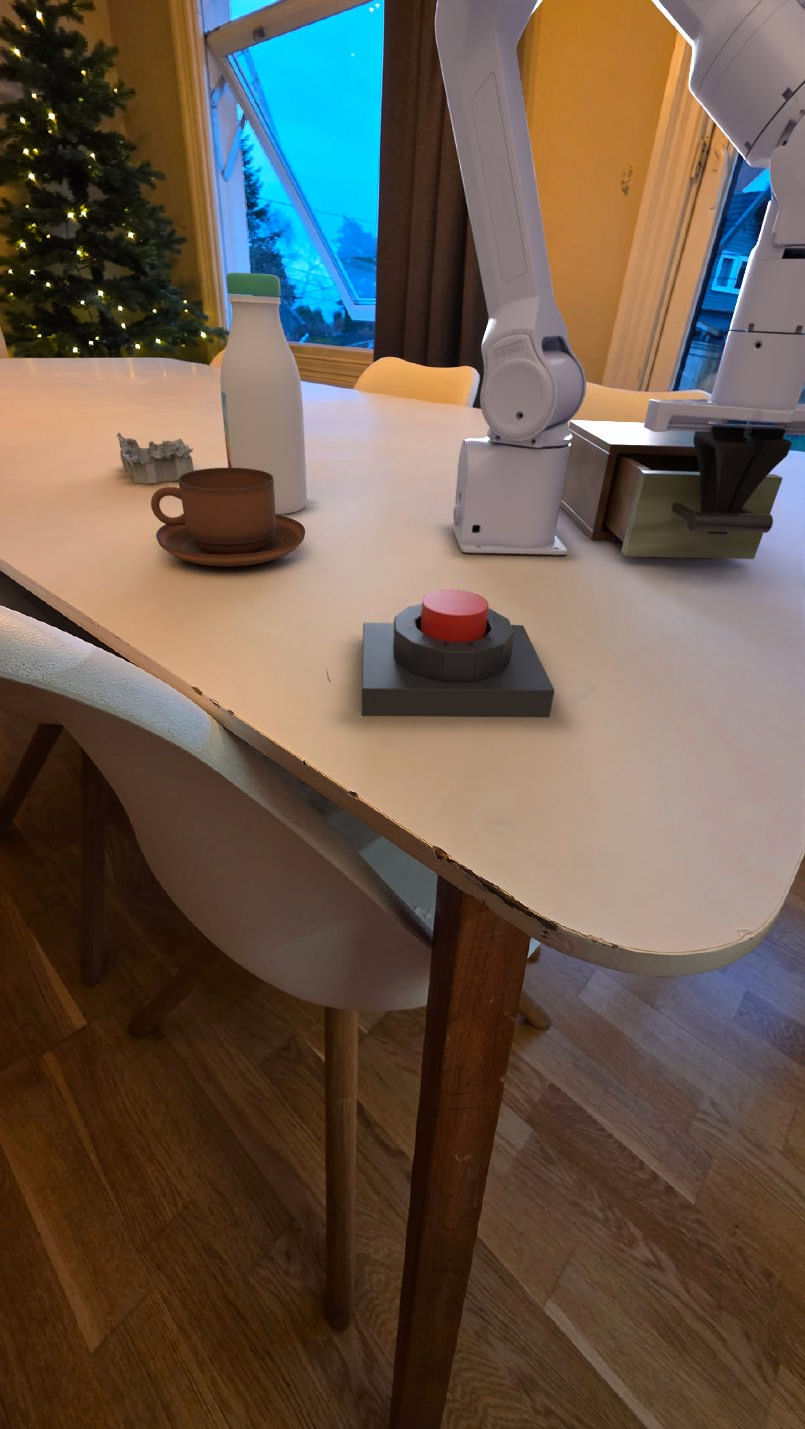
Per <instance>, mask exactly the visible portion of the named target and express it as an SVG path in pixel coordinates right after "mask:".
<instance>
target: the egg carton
mask: <svg viewBox="0 0 805 1429" xmlns="http://www.w3.org/2000/svg"><path fill="white" fill-rule="evenodd" d="M116 437H117V438H118V443H119V448H120V450H119V454H120V460H121V463H122V467H123V468H124V469H123V470H124V471H125V472H127V474H128V476H130V477H131V478H133V480H134V483H135V484H144V485H150V484H156V485H158V484H159V483H163V482H168V481H169V482H170V481H171V482H173V481H177V482H178V478H179V477H180V476H181V475H183V474H185V473H188V472H191V471H195V468H194V462H193V457H192V456H191V455H190V454H191V453H193V450H194V448H191V447H189V445H188V444H185V442H184V441H183V439H181V438H178V439H175V440H162V442H161V443H155V442H154V441H153V440H150V441H149V442H148V447H145V448H144V447H143V448H142V447H140V445H139V444H138V442H137V440H136V439H135V438H132V437H131V438H130V437H129V438H125V437H124V436H122V434H121V432H118V433H116Z"/></svg>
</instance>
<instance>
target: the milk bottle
mask: <svg viewBox="0 0 805 1429" xmlns="http://www.w3.org/2000/svg"><path fill="white" fill-rule="evenodd" d="M226 289H227V294H228V302H229V303H230V305H231V325H230V330H229V335H228V338H227V342H226V346H225V348H224V352H223V355H222V360H221V364H220V365H221V366H220V377H219V378H220V381H219V383H220V399H221V400H220V401H221V411H222V420H223V430H224V431H223V432H224V441H225V449H226V460H227V468H247V469H255V470H260V471H264V472H267V473H269V474H271V475H272V476H273V479H274V496H275V513H276V514H277V515H283V514H285V515H286V514H291V513H295V512H298V511H301V510H302V509H304V508H305V507H306V505H307V502H308V489H307V485H308V484H307V464H306V461H307V460H306V442H305V441H306V440H305V424H304V423H305V422H304V406H303V405H304V404H303V403H304V402H303V392H302V390H303V389H302V382H301V376H300V371H299V368H298V365H297V362H296V359H295V356H294V354H293V352H292V350H291V347H290V345H289V343H288V339H287V337H286V334H285V331H284V329H283V325H282V322H281V317H280V305H281V304H282V302H281V280H280V277H279V276H278V275H275V274H269V273H268V274H267V273H255V272H253V273H252V272H228V273H227V274H226Z"/></svg>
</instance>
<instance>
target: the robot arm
mask: <svg viewBox="0 0 805 1429" xmlns="http://www.w3.org/2000/svg"><path fill="white" fill-rule="evenodd" d="M651 1H652V2H653V3H654V5H655V6H656V7H657V8H658V9H659V10H660V12H662V14H663V15H664V17H666V18H667V19H668V20H669V22H670V23H671V24H672V25H673V27H675V29H676V30H677V31H678V32H679V33H680V34H681V35H682V37H683V38H684V39H685V41H687V43H689V45H690V46H691V47H692V54H691V62H690V70H689V71H690V72H689V78H688V89H689V92H690V93H691V94H692V95H693V97H694V98H695V99H696V101H697V102H698V103H699V104H700V105H701V107H702V108H703V109H704V110H705V112H706V113H707V114H708V116H709V117H710V118H711V119H712V120H713V121H714V123H715V124H716V125H717V126H718V128H719V129H720V130H721V131H722V133H723V134H724V136H725V137H726V138H727V139H728V140H729V142H730V143H731V144H732V145H733V147H734V148H735V149H736V150H737V152H738V153H739V154H740V155H741V156H742V157H743V159H744V160H745V161H746V163H747V164H748V165H749V166H750V167H751V168H763V169H767V170H769V178H770V179H769V182H770V192H771V198H772V199H771V200H769V201H768V204H767V208H766V211H765V215H764V217H763V218H764V219H763V222H762V226H761V230H760V233H759V236H758V239H757V240H758V241H757V242H756V245H755V246H754V248H752V250H751V252H750V255H749V258H748V261H747V265H746V269H745V273H744V275H743V280H742V283H741V287H740V291H739V294H738V297H737V302H736V305H735V309H734V313H733V316H732V319H731V322H730V327H729V330H728V333H727V336H726V340H725V345H724V348H723V351H722V354H721V359H720V363H719V367H718V370H717V373H716V376H715V380H714V384H713V388H712V392H711V395H710V398H681V399H679V398H676V399H675V398H674V399H673V398H672V399H670V398H669V399H667V398H666V399H665V398H662V399H661V398H660V399H659V398H650V399H649V402H648V405H647V409H646V414H645V419H644V422H643V423H644V428H647V429H649V430H651V431H654V432H666V431H667V430H672V431H695V434H694V440H693V442H694V446H695V450H696V454H697V459H698V463H699V470H700V478H701V512H717V513H739V512H740V511H741V509H742V507H743V506H744V504H745V503H746V502H747V500H748V499H749V497H750V496H751V494H752V493H753V492H754V490H755V489H756V488H757V487H758V485H759V484H760V483H761V482H762V481H763V479H764V478H765V477H766V476H767V475H768V474H771V472H772V471H773V470H774V469H775V468H776V467H777V466H778V465H779V464H780V463H781V462H782V461H784V459H785V458H786V457H788V454H789V452H790V450H791V447H792V444H793V442H792V441H791V440H789V439H786V438H784V436H785V435H792V436H797V435H798V436H805V403H799V399H800V398H801V394H802V392H803V389H804V386H805V0H651ZM542 2H543V0H436V8H435V9H436V10H435V17H434V18H435V19H434V27H435V28H434V31H435V42H436V47H437V52H438V56H439V62H440V69H441V74H442V79H443V84H444V89H445V95H446V100H447V106H448V110H449V116H450V121H451V125H452V132H453V136H454V143H455V146H456V152H457V157H458V162H459V168H460V173H461V178H462V184H463V189H464V195H465V199H466V200H465V201H466V205H467V210H468V215H469V220H470V225H471V232H472V235H473V242H474V246H475V253H476V257H477V262H478V268H479V273H480V278H481V284H482V289H483V295H484V300H485V305H486V310H487V315H488V323H487V326H486V330H485V332H484V336H483V338H482V342H481V348H480V350H481V351H480V352H481V356H482V362H483V378H482V384H481V388H480V397H479V400H480V408H481V409H480V410H481V414H482V416H483V418H484V421H485V422H486V423H485V424H487V426H488V427H487V430H486V436H485V437H481V438H465V439H463V440H462V442H461V445H460V449H459V451H460V452H459V456H458V464H457V465H458V466H457V477H456V489H455V500H454V508H453V517H452V518H453V519H452V521H453V522H452V526H451V527H452V529H453V532H454V535H455V538H456V541H457V543H458V546H459V548H460V551H461V552H463V553H468V554H469V553H471V554H473V553H475V554H511V555H512V554H514V555H515V554H517V555H556V556H557V555H558V556H559V555H562V556H565V555H567V554H568V548H567V546H566V545H565V544H564V543H563V541H561V539H560V538H559V537H558V536H557V534H556V532H557V528H558V521H559V516H560V515H559V514H560V511H561V510H560V509H561V507H560V504H561V498H562V493H563V487H564V481H565V475H566V469H567V464H568V458H569V452H570V446H571V441H572V435H571V433H570V431H569V423H568V422H570V421H571V420H572V419H574V418H573V417H574V416H575V415H576V414H577V413H578V412H579V410H580V409H581V407H582V405H583V402H584V400H585V397H586V394H587V377H586V376H587V375H586V372H585V368H584V367H583V365H582V362H581V361H580V360H579V358H578V357H577V356H576V354H575V353H574V351H573V349H572V346H571V344H570V340H569V334H568V328H567V325H566V322H565V321H564V318H563V315H562V313H561V311H560V309H559V307H558V305H557V302H556V300H555V295H554V286H553V282H552V276H551V275H552V274H551V269H550V261H549V256H548V248H547V242H546V236H545V230H544V229H545V228H544V223H543V216H542V210H541V204H540V197H539V190H538V183H537V178H536V171H535V163H534V158H533V151H532V144H531V137H530V131H529V125H528V120H527V112H526V105H525V98H524V92H523V86H522V79H521V72H520V67H519V59H518V53H517V46H518V42H519V40H520V38H521V36H522V35H523V33H524V30H525V28H526V26H527V24H528V22H529V20H530V18H531V16H532V14H533V13H534V12H535V11H536V9H537V8H538V7H539V6H540V5H541V3H542ZM729 421H742V422H753V423H754V422H755V423H771V424H774V425H771V424H770V425H769V424H768V425H767V424H743V423H742V424H739V423H729ZM706 532H708V533H709V534H727V532H710V531H706Z"/></svg>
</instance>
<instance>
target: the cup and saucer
mask: <svg viewBox="0 0 805 1429" xmlns="http://www.w3.org/2000/svg"><path fill="white" fill-rule="evenodd" d="M177 482H178V487H176V486H175V487H174V486H165V487H161V488H159V489H157V490H156V491H155V492H154V493H153V494H152V496H151V499H150V507H151V511H152V513H153V515H154V516H155V518H156V519H157V520H158V521H160V522H161V523H163V525H162V526H161V527H160V528H159V529H158V530H157V531H156V534H155V538H156V540H157V543H158V545H159V546H160V548H161V549H163V550H164V551H166V552H167V553H168V554H170V555H171V556H173V557H175V558H177V559H179V560H182V561H185V562H189V563H193V564H197V565H202V566H203V565H204V566H210V567H211V566H214V567H241V566H243V567H244V566H253V565H258V564H262V563H267V562H272V561H275V560H278V559H279V558H282V557H284V556H287V555H288V554H290V553H292V552H294V551H295V550H296V549H297V548H298V547H299V546H300V545H301V544H302V543H303V541H304V540H305V537H306V527H305V526H304V525H303V524H302V523H301V522H299V521H298V520H296V519H294V518H292V517H288V516H286V515H283V514H276V513H275V496H274V479H273V476H272V475H271V474H269V473H267V472H264V471H260V470H255V469H247V468H228V467H210V468H202V469H197V470H194V471H191V472H188V473H185V474H183V475H181V476H180V477H179V478H178V481H177ZM165 497H174V498H176V499H179V500H181V505H182V512H183V513H182V514H180V515H179V516H173V517H171V516H169V515H166V514H164V512H163V511H162V509H161V506H160V504H161V503H160V502H161V500H163V498H165Z"/></svg>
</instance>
